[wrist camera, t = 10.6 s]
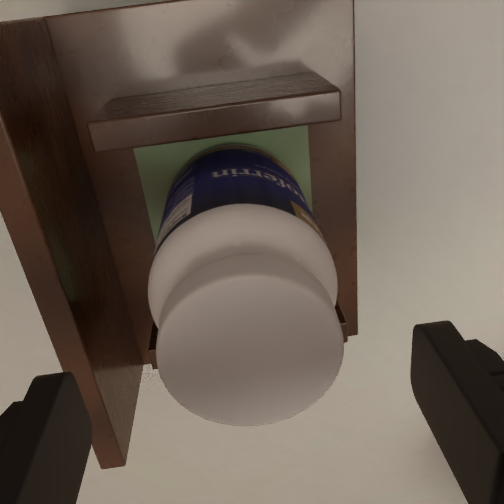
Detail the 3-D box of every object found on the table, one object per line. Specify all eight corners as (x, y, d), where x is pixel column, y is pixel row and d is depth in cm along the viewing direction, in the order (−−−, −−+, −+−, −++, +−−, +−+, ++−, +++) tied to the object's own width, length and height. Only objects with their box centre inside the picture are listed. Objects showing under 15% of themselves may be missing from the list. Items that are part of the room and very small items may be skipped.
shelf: (62, 14, 22) (-72, 30, 12) (320, -19, 22) (419, -33, 12) (139, 302, 30) (100, 470, 19) (331, 275, 30) (398, 427, 19)
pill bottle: (325, 176, 20) (413, 313, 12) (262, 282, 22) (295, 465, 14) (200, 114, 19) (191, 218, 10) (145, 235, 21) (98, 407, 12)
